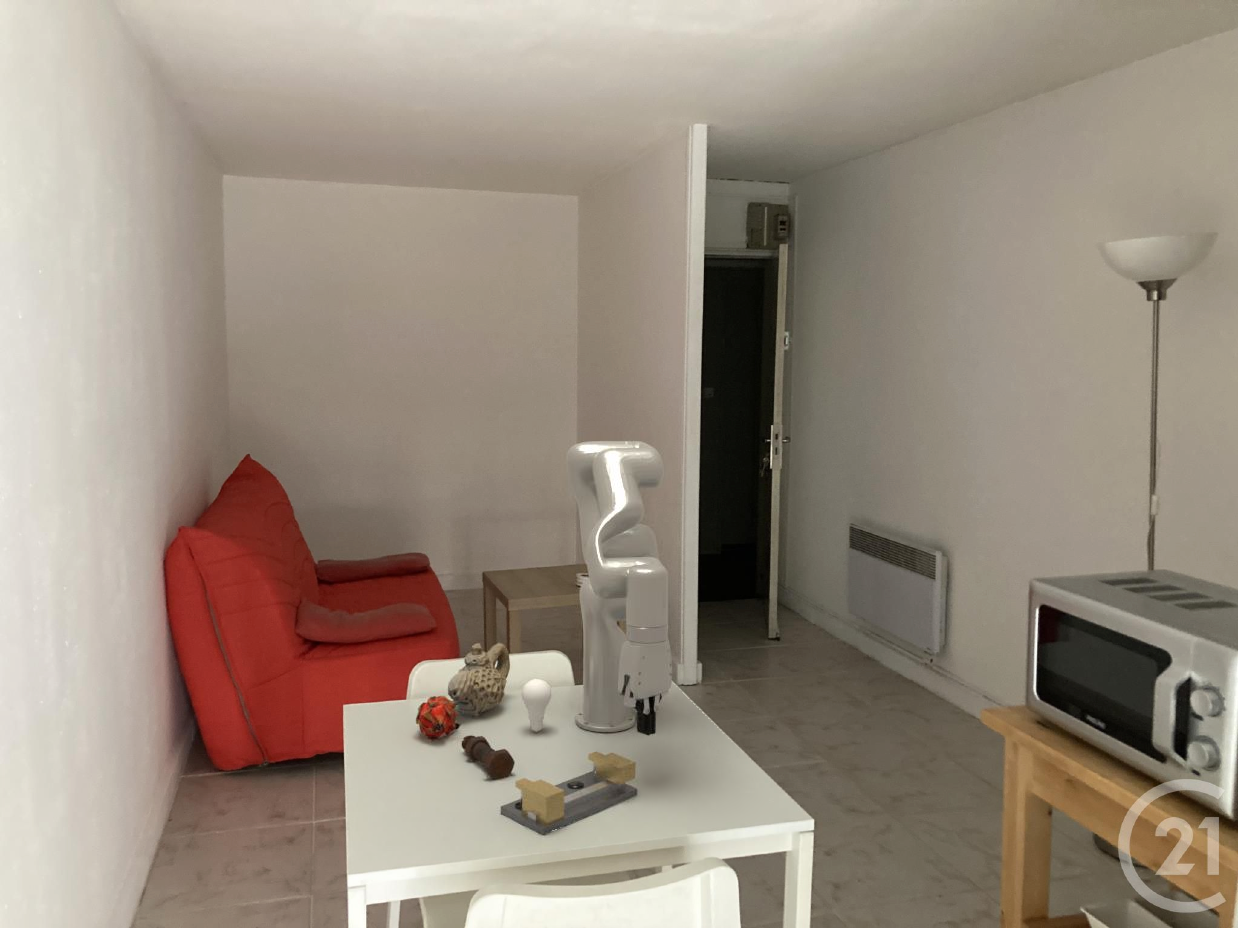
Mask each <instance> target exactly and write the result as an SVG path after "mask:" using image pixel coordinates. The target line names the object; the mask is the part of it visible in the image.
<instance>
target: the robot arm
mask: <svg viewBox="0 0 1238 928" xmlns="http://www.w3.org/2000/svg"><path fill="white" fill-rule="evenodd" d="M565 462H566V474H567V479H568V482H569V486H570V488H571V491H572V493H573V496H574V499H575V501H576V504H577V507H578V513H579V516H578V517H579V525H580V536H581V537H580V539H581V549H582V555H583V560H584V563H585V564H586V566H587V573H588V578H587V579H585V580H584V581H583V582H582V584H581V586H580V588H579V595H578V596H579V603H580V605H579V606H580V610H581V611H580V612H581V617H582V634H583V636H582V637H583V639H582V640H583V643H582V644H583V645H582V646H583V652H582V653H583V657H582V658H583V661H582V662H583V665H582V667H583V669H582V670H583V671H582V673H583V676H582V684H583V685H582V710H581V711H579V712H577V714H576V715H575V725H577V726H578V727H579V728H581V729H583V730H585V731H590V732H595V733H616V732H622V731H624V730H625V731H626V730H628V729H630V728H631V727H633V726H634V725H635V722H636V731H637V733H639V734H643V735H646V736H651V735H654V734H656V726H657V725H656V723H657V722H656V721H657V720H656V719H657V718H656V717H657V716H656V715H657V712H658V711H659V706H660V705H659V704H660V702H661V701H662V700H663V698H665V697H667V696H668V695H669V690H670V689H671V688H672V683H673V682H672V681H673V664H672V663H673V661H672V653H671V646H670V641H669V638H668V636H669V633H668V632H669V631H668V630H669V628H670V626H669V573H668V570H667V568H666V566H664V565H663V563H662V561H661V560H660V558H659V557H660V556H659V549H658V541H657V538H656V534H655V533H654V531H653V529H652V528H651V527H650V526H648V525H646V524H643V523H640V522H641V521H642V520H643V517H644V516H645V509H644V503H643V500H642V495H641V491H640V490H645V489H646V490H647V489H649V490H650V489H651V490H653V489H657V488H659V487H660V486H661V485H662V483H663V481H664V477H665V468H664V467H665V466H664V462H663V459H662V457H661V455H660V453H659V451H658V450H657V449H656V448H655V447H653V446H651V445H650V444H648V443H646V442H643V441H640V440H637V441H635V440H620V441H619V440H615V441H613V440H598V441H597V440H595V441H594V440H592V441H582V442H579V443H576V444H573V445H572V446H571V447H570V448H569V449H568V450H567V454H566V461H565ZM639 523H640V524H639ZM623 621H625V622H626V623H625V632H624V631H623V629H621V627H619V625H618V624H617V623H618V622H623ZM633 709H634V712H636V716H635V715H634V713H632V710H633Z"/></svg>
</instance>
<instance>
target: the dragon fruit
mask: <svg viewBox="0 0 1238 928" xmlns="http://www.w3.org/2000/svg"><path fill="white" fill-rule="evenodd" d="M456 707H457V704H456V703H455V702H454V701H453V700H450V699H449V698H448V697H447V696H446V695H439V696H436V695H435V696H429V697H428V699H427V700H426V702H422V703H421V704H420V705H419V706H418V708H417V710H418V712H417V715H416V718H415V724H416V725H418V727H419V732H421V733H424V736H425V737H426V738H427V740H429V741H431V742H435V741H436V740H438V739H441V738H445V737H446V736H449V735H451V734H452V733H453V732H454V731H457V730H459V729H460V726H461V725H462V723H461V722H458V720H459V712H458V711H457V710H456Z"/></svg>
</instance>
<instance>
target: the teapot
mask: <svg viewBox="0 0 1238 928" xmlns="http://www.w3.org/2000/svg"><path fill="white" fill-rule="evenodd" d="M471 650H472V651H471V652H470V651H469V653H467V654H466V655H465V657H464V661H463V663H464V664H465V666H463V667H462V668H461V669H458V673H455V674H454V676H452V677H451V678H450V680H449V681H448V685H447V695H448V696H449V698H450V699H451V700H452V701H454V702H455V703H456V704H457V705H456V707H457V709H459V710H460V711H461V712H462V714H463V715H467V716H468V715H473V717H478V716H479V715H483V714H485V713H486V712H488V711H489V710H491V709H492V708H494V707H495V706H497V705H498V704H500V703H501V702H502V700H503V698H504V696H505V689H506V684H507V682H508V681H507V678H508V676H509V672H510V670H511V660H510V654H509V650H508V647H506V645H505V644H503V643H501V642H498V643H496V644H494V645H493V646H491V647H490V649H489V650H488V651H487V652H486V651H483V649H482V646H481V643H479V642H478V643H477V642H476V643H475V644H473V645H472V646H471Z"/></svg>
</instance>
